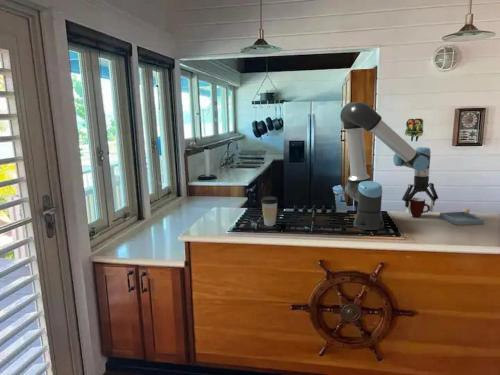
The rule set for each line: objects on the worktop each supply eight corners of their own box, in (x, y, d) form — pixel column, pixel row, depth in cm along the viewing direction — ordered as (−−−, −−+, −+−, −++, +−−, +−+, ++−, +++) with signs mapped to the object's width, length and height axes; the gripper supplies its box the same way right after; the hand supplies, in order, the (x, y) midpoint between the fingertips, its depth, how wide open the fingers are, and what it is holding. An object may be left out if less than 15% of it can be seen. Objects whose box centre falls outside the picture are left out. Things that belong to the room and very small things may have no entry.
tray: (457, 225, 197) (457, 220, 196) (439, 216, 212) (440, 212, 211) (483, 224, 198) (483, 219, 197) (464, 215, 213) (464, 211, 212)
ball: (465, 215, 214) (465, 209, 213) (461, 213, 217) (461, 207, 216) (470, 215, 214) (471, 209, 213) (466, 213, 217) (467, 207, 217)
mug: (427, 214, 216) (428, 198, 214) (429, 218, 209) (431, 201, 207) (407, 213, 219) (408, 197, 217) (409, 217, 211) (410, 200, 209)
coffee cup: (281, 226, 203) (281, 199, 200) (265, 228, 199) (264, 201, 196) (273, 221, 211) (273, 195, 208) (258, 223, 208) (257, 197, 205)
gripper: (403, 177, 204) (401, 215, 209) (446, 175, 206) (444, 212, 211) (396, 175, 211) (395, 211, 216) (438, 172, 214) (436, 208, 218)
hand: (419, 212), depth 213 cm, fingers open, 13 cm apart
